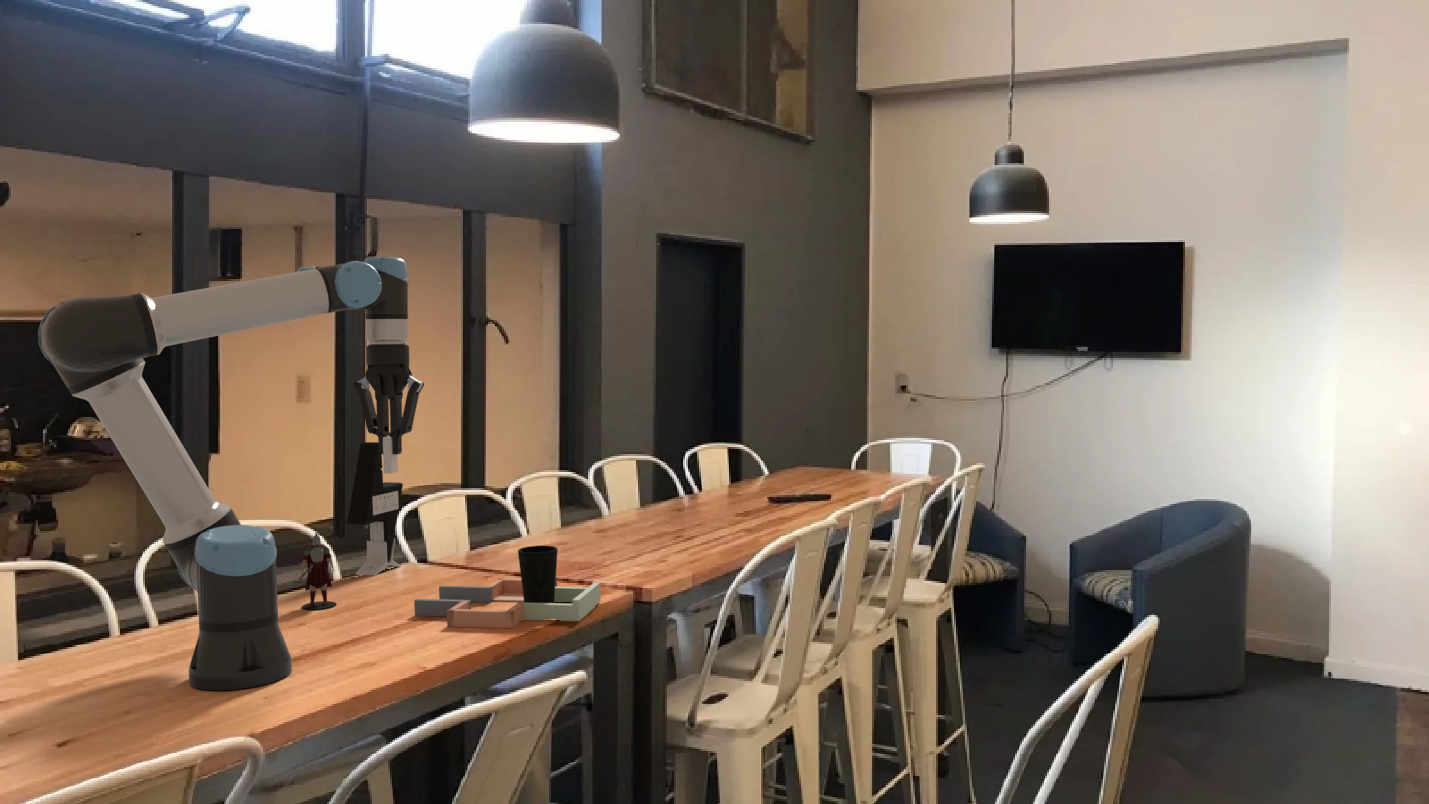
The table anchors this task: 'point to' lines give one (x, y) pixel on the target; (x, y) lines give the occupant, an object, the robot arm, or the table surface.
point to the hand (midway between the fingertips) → (390, 472)
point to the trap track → (459, 600)
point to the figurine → (317, 574)
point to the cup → (538, 573)
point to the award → (375, 508)
